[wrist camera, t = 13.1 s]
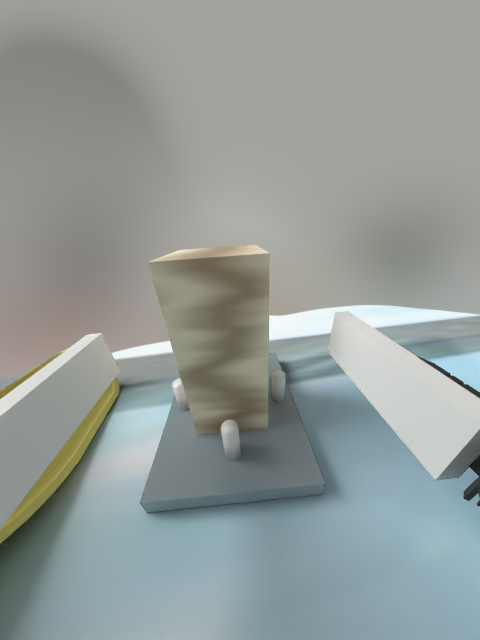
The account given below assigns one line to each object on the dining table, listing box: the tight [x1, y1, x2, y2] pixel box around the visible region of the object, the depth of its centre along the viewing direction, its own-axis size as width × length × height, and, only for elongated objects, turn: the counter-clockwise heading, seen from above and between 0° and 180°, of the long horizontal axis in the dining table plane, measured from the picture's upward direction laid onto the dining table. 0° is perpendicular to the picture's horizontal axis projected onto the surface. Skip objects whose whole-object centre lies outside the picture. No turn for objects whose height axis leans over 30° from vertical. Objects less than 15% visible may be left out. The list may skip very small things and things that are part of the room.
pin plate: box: [140, 353, 325, 513], centre depth 17 cm, size 12×14×4 cm
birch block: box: [148, 245, 270, 435], centre depth 15 cm, size 6×6×14 cm
